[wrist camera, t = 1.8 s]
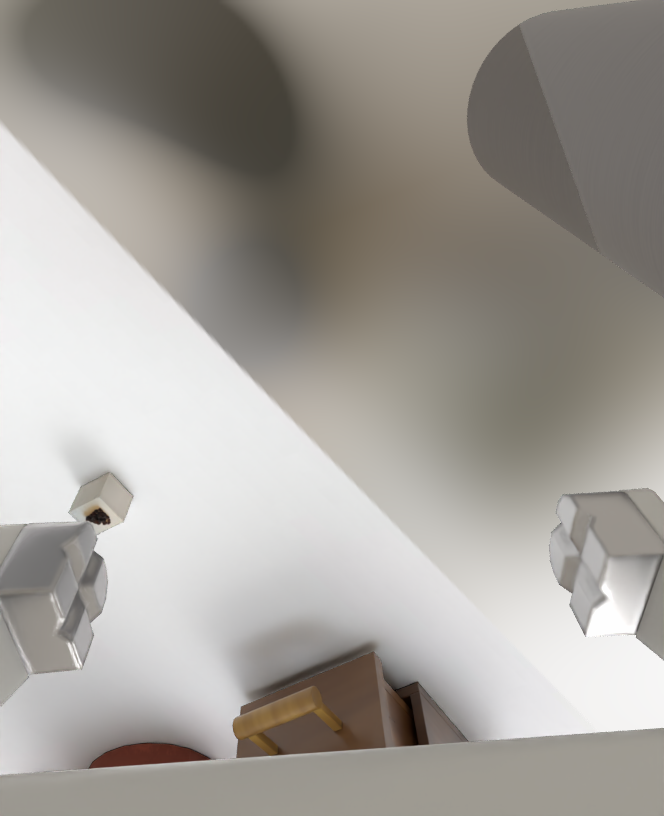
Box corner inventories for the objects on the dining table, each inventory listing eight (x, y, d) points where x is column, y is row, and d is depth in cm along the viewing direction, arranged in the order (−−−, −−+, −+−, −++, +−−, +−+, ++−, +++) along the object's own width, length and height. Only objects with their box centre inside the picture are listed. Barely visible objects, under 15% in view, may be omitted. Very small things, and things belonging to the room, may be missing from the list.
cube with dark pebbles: (109, 471, 35) (97, 499, 33) (133, 496, 36) (123, 525, 34) (80, 486, 35) (66, 515, 33) (104, 510, 36) (92, 540, 34)
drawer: (206, 677, 43) (187, 810, 36) (344, 617, 41) (354, 747, 33) (331, 784, 52) (337, 910, 44) (452, 740, 49) (480, 866, 42)
